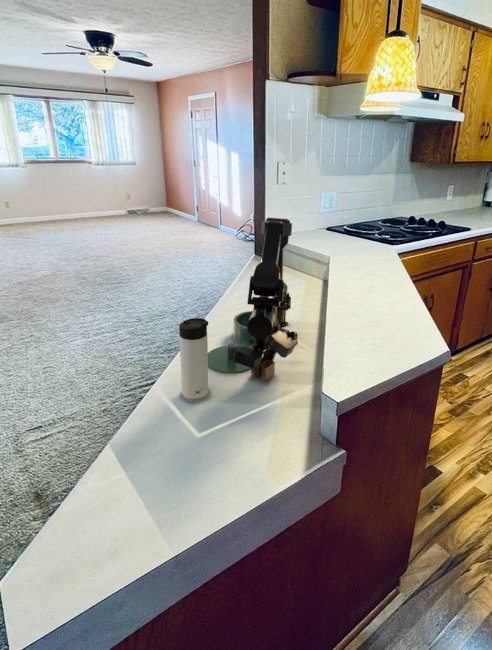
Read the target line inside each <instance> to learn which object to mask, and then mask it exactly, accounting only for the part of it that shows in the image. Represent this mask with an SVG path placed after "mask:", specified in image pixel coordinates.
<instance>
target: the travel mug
mask: <svg viewBox="0 0 492 650" xmlns="http://www.w3.org/2000/svg"><path fill="white" fill-rule="evenodd" d="M208 326H209V321H208V320H207V319H205V318H202V317H192V318H188V319H185V320H182V322H181V323H180V324H179V326H178V329H179V334H178V335H179V356H180V357H179V358H180V374H181V375H180V377H181V394H182V395H181V396H182V398H183V399H185V400H187V401H190V402H196V401H197V402H198V401H201V400H204V399H205V398H207V397H208V395H209V367H208V353H209V349H208Z"/></svg>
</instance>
